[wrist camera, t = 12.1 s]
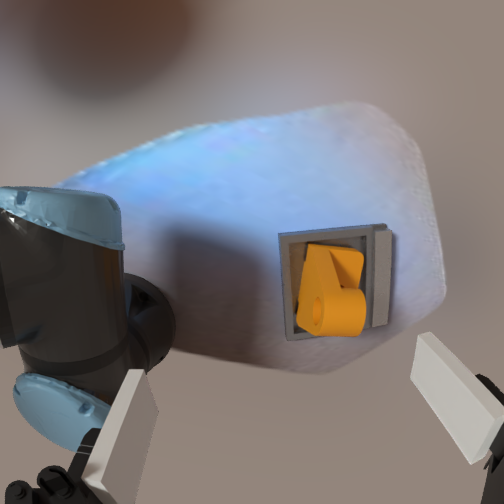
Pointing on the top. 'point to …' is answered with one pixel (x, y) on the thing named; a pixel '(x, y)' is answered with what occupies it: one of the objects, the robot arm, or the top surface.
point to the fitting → (372, 276)
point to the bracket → (331, 292)
